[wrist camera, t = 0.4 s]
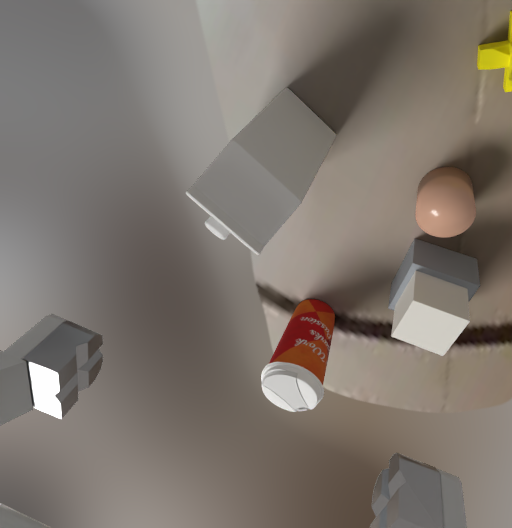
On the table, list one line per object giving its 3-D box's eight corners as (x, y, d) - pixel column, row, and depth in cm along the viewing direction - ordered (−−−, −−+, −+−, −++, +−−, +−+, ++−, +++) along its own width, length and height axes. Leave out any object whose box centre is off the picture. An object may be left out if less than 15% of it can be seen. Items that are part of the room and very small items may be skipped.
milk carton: (287, 85, 43) (210, 159, 29) (337, 134, 44) (288, 228, 30) (247, 135, 47) (164, 220, 33) (294, 178, 49) (233, 278, 34)
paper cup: (353, 326, 59) (334, 411, 48) (307, 338, 63) (280, 418, 53) (324, 285, 56) (297, 365, 46) (278, 300, 61) (244, 376, 50)
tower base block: (414, 237, 48) (412, 263, 44) (477, 258, 47) (480, 285, 43) (391, 282, 53) (388, 308, 49) (448, 301, 52) (448, 330, 48)
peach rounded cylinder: (430, 160, 42) (429, 181, 39) (482, 175, 42) (486, 199, 38) (409, 203, 46) (407, 227, 42) (458, 218, 45) (459, 244, 41)
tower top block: (415, 270, 45) (413, 300, 41) (467, 288, 44) (469, 321, 40) (395, 305, 48) (391, 336, 45) (442, 323, 48) (443, 356, 44)
